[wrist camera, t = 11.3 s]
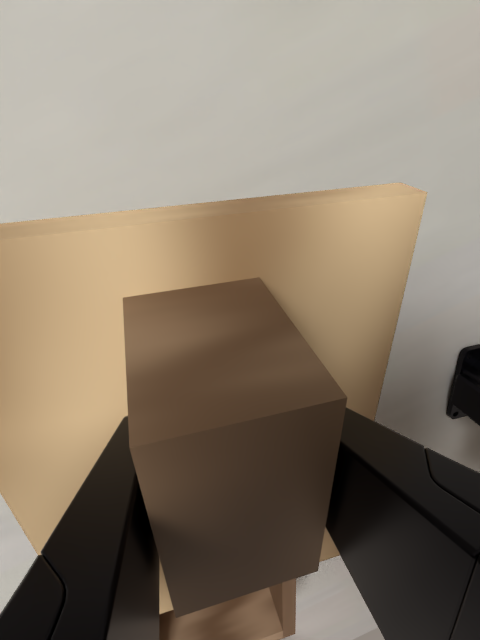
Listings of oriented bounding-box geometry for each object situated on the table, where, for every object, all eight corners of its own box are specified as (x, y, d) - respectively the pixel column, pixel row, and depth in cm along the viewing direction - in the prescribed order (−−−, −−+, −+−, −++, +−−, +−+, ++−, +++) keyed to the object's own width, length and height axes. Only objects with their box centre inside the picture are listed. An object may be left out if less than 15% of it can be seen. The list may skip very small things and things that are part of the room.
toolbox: (268, 428, 27) (304, 498, 22) (273, 590, 35) (300, 668, 30) (104, 468, 24) (99, 558, 19) (151, 631, 33) (157, 724, 27)
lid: (400, 182, 10) (615, 261, 5) (332, 532, 18) (396, 664, 14) (-115, 235, 7) (-411, 442, 3) (89, 608, 16) (80, 792, 12)
